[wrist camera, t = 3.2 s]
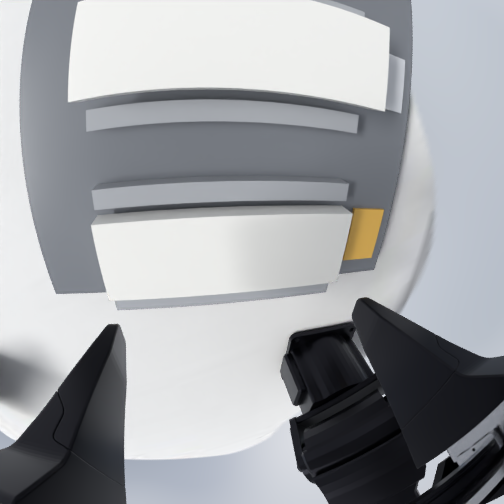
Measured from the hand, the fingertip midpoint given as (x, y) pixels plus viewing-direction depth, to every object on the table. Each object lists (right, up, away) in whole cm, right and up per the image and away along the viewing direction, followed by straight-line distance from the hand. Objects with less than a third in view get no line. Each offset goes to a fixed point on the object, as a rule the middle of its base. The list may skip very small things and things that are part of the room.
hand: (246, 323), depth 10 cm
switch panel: (-1, +13, +2) cm, 13 cm away
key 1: (-1, +3, +5) cm, 5 cm away
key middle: (0, +11, -1) cm, 11 cm away
